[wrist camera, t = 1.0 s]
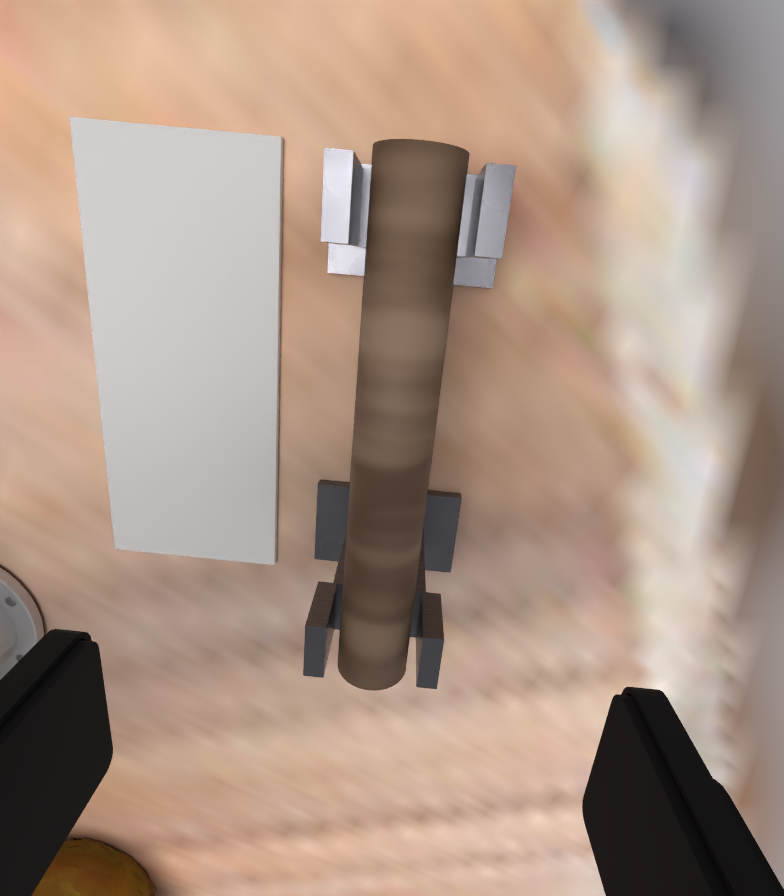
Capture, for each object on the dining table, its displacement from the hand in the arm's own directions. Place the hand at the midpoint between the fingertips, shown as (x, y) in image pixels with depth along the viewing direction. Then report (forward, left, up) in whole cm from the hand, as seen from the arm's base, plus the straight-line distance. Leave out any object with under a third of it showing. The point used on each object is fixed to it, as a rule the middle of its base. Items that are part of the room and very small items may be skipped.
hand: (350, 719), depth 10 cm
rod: (0, 0, -17) cm, 17 cm away
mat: (0, +14, -27) cm, 30 cm away
